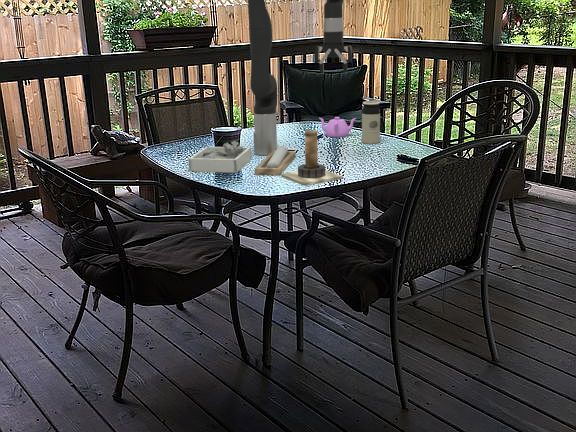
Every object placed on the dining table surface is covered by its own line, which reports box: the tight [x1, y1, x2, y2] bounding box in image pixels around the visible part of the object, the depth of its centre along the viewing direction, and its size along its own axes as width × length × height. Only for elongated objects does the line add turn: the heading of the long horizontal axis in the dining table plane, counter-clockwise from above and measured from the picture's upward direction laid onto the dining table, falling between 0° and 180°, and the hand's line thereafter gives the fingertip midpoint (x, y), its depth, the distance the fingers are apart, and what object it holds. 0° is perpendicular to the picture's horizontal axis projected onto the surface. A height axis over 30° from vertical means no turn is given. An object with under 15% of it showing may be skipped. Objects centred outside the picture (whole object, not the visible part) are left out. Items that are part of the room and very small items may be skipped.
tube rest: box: [254, 150, 297, 176], centre depth 259 cm, size 10×31×2 cm, turn 168°
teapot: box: [318, 116, 357, 138], centre depth 313 cm, size 12×14×9 cm
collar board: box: [280, 163, 343, 186], centre depth 240 cm, size 16×16×4 cm
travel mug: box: [361, 100, 381, 145], centre depth 294 cm, size 8×8×18 cm
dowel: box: [304, 129, 319, 169], centre depth 238 cm, size 4×4×16 cm
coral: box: [201, 140, 244, 159], centre depth 258 cm, size 17×14×10 cm
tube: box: [266, 145, 289, 168], centre depth 260 cm, size 5×5×25 cm
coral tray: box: [187, 146, 252, 174], centre depth 262 cm, size 19×22×5 cm
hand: (333, 73), depth 257 cm, fingers open, 8 cm apart
